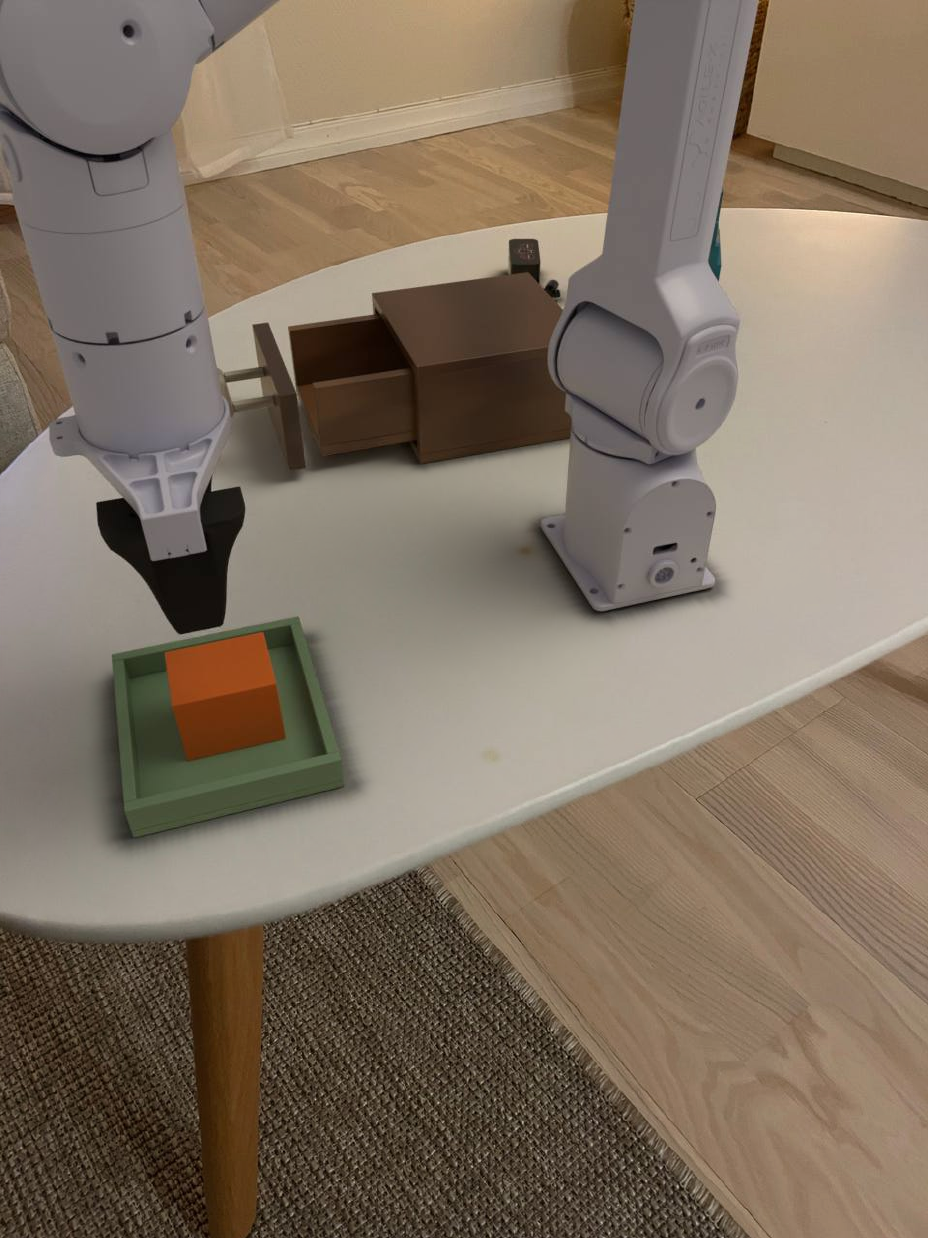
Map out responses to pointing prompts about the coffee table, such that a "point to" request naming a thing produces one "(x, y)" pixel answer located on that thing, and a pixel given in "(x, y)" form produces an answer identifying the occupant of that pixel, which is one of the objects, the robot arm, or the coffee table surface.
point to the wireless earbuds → (528, 262)
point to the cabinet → (478, 364)
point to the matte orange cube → (224, 696)
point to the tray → (225, 782)
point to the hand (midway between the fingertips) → (193, 591)
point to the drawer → (332, 386)
